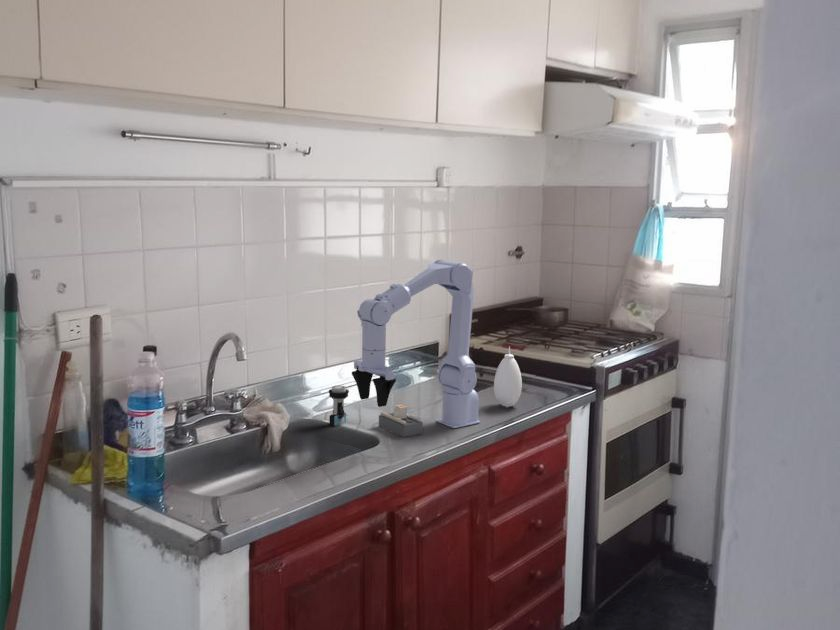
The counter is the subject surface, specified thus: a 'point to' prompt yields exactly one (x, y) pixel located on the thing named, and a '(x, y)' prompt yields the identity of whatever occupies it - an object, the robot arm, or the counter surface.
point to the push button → (338, 405)
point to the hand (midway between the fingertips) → (373, 402)
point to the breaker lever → (400, 411)
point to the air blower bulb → (508, 381)
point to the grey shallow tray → (401, 424)
